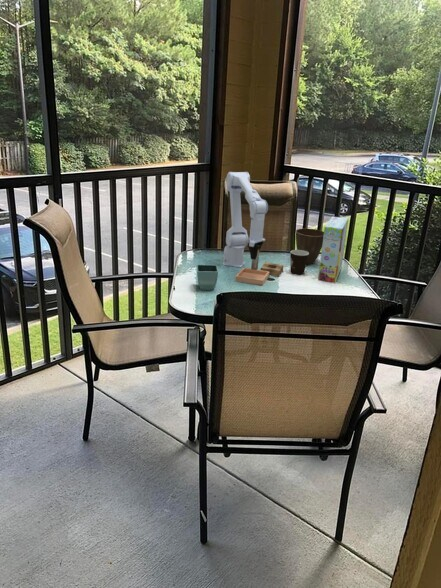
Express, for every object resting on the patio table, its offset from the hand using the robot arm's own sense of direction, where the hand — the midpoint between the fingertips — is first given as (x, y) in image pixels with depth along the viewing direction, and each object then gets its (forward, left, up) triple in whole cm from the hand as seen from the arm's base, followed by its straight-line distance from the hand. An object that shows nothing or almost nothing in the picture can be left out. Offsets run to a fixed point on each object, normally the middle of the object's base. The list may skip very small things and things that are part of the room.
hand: (254, 258), depth 205 cm
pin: (0, 0, -5) cm, 5 cm away
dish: (0, 0, -10) cm, 10 cm away
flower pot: (-15, -20, -10) cm, 27 cm away
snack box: (+32, +23, -10) cm, 40 cm away
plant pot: (+19, +35, -10) cm, 41 cm away
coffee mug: (+17, +19, -10) cm, 28 cm away
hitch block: (+6, +12, -10) cm, 17 cm away
